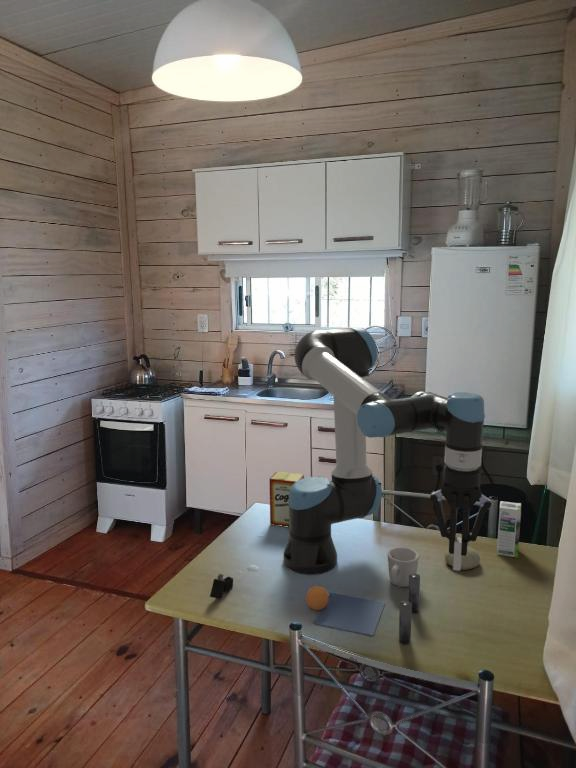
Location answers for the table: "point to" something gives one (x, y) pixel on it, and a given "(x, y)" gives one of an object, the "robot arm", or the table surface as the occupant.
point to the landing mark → (351, 614)
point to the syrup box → (509, 529)
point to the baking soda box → (281, 496)
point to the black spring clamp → (221, 586)
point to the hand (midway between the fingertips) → (457, 567)
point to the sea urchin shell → (464, 559)
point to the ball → (317, 598)
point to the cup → (402, 565)
